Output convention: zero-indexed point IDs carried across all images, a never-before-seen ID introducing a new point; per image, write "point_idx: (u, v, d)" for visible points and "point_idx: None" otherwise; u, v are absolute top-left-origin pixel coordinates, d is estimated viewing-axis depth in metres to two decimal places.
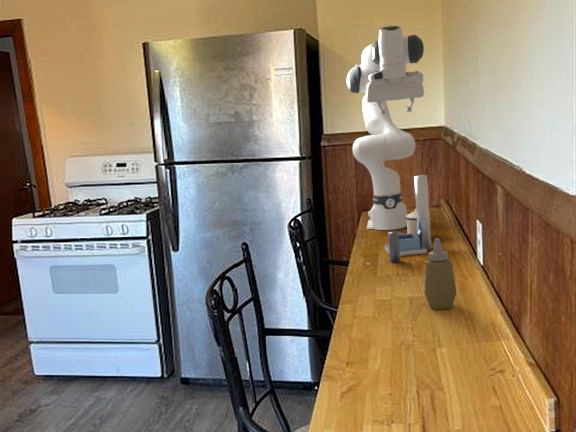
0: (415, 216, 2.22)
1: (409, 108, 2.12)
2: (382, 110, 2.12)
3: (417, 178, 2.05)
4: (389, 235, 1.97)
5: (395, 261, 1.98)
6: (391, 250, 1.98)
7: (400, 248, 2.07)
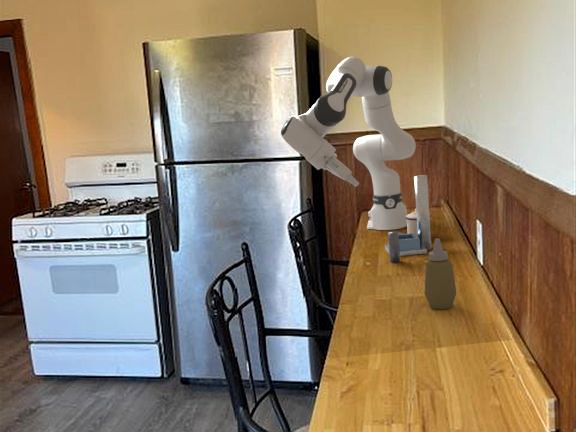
0: (415, 216, 2.22)
1: (353, 184, 1.90)
2: (347, 181, 1.99)
3: (417, 178, 2.05)
4: (389, 235, 1.97)
5: (395, 261, 1.98)
6: (391, 250, 1.98)
7: (400, 248, 2.07)
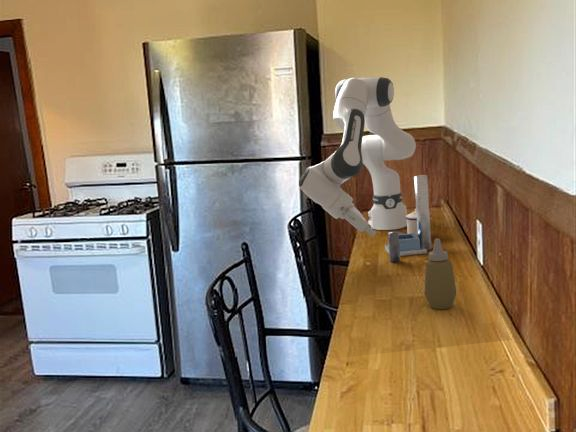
0: (415, 216, 2.22)
1: (370, 234, 1.93)
2: None
3: (417, 178, 2.05)
4: (389, 235, 1.97)
5: (395, 261, 1.98)
6: (391, 250, 1.98)
7: (400, 248, 2.07)
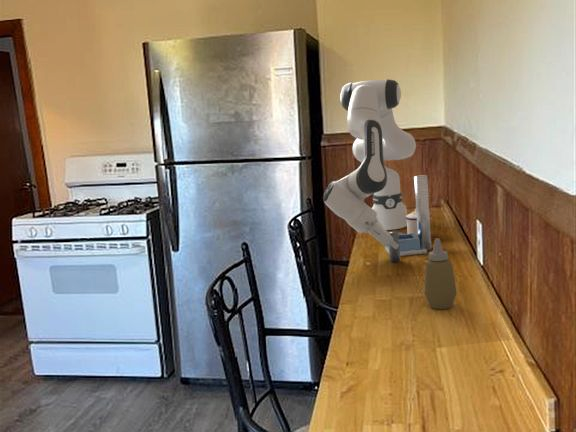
0: (415, 216, 2.22)
1: None
2: None
3: (417, 178, 2.05)
4: None
5: (395, 261, 1.98)
6: (391, 250, 1.98)
7: (400, 248, 2.07)
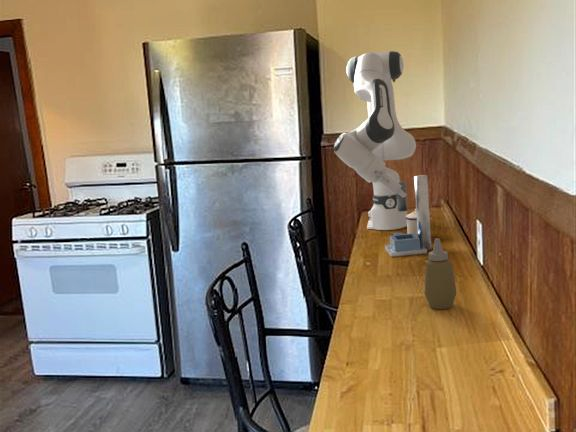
0: (415, 216, 2.22)
1: (400, 195, 2.06)
2: None
3: (417, 178, 2.05)
4: None
5: (402, 210, 2.07)
6: (399, 199, 2.07)
7: (400, 248, 2.07)
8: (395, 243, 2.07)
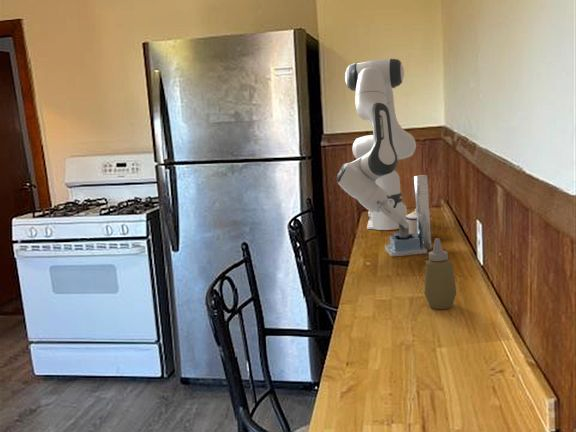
0: (415, 216, 2.22)
1: None
2: None
3: (417, 178, 2.05)
4: (400, 226, 2.09)
5: None
6: None
7: (400, 248, 2.07)
8: (395, 243, 2.07)
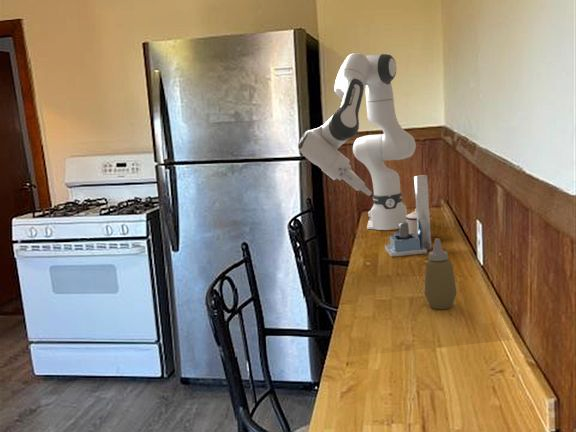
0: (415, 216, 2.22)
1: None
2: None
3: (417, 178, 2.05)
4: (400, 226, 2.09)
5: None
6: None
7: (400, 248, 2.07)
8: (395, 243, 2.07)
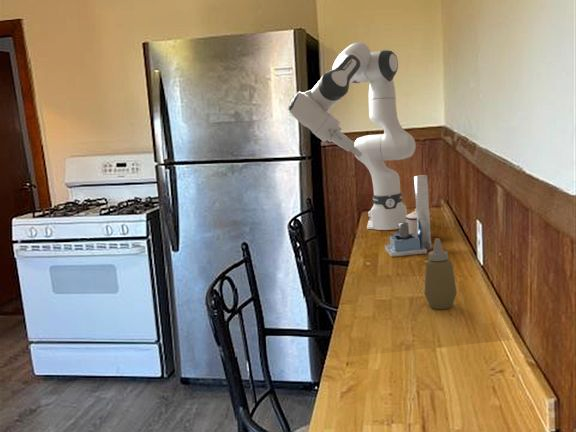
0: (415, 216, 2.22)
1: (356, 155, 2.03)
2: (352, 152, 2.13)
3: (417, 178, 2.05)
4: (400, 226, 2.09)
5: None
6: None
7: (400, 248, 2.07)
8: (395, 243, 2.07)
